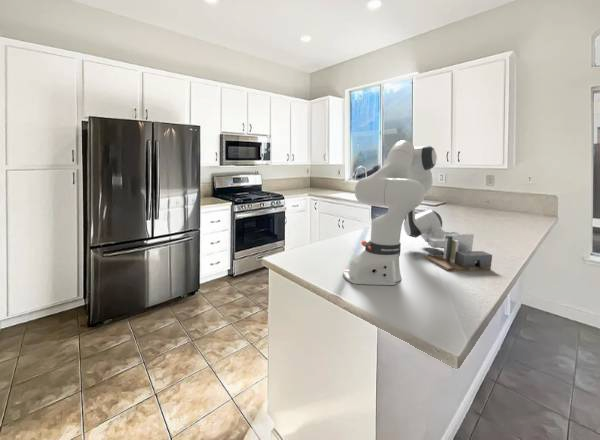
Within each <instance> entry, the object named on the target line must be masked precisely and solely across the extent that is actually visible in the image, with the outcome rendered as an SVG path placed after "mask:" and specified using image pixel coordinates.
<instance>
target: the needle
mask: <svg viewBox="0 0 600 440" xmlns="http://www.w3.org/2000/svg"><path fill="white" fill-rule="evenodd" d="M452 238H453V236H448V241H447V251H446V260H445V261H447V262H450V256H451V247H452Z"/></svg>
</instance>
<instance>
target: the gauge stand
mask: <svg viewBox="0 0 600 440" xmlns="http://www.w3.org/2000/svg"><path fill="white" fill-rule="evenodd" d="M447 241H448V238H445V247H444V248H443V254H424V255H423V258H424V259H425V260H427V261H429V262H431V263H432V264H435V265H436V266H438V267H439V268H441V269H443V270H445V271H447V272H456V271H457V272H458V271H459V272H460V271H463V272H464V271H487V270H488V271H489V270H491V267H492V261H493V254H491V253H488V252H486V251H484V250H476V251H475V250H472V251H466V252H458V245H459V241H457V240H454V239H452V247H451V256H450V262H447V261H445V260H446V251H447ZM476 260H477V261H478V263H477V264H475V261H476Z"/></svg>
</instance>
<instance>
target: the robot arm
mask: <svg viewBox="0 0 600 440" xmlns="http://www.w3.org/2000/svg"><path fill="white" fill-rule="evenodd" d="M437 159H438V158H437V152H436V150H435V148H434V147H432V146H431V145H423V146H415V145H414V144H413V143H412V142H410V141H409V140H400V141H397V142H396V143H394V145H393V146H392V147H391V149H389V152H388V153H387V155H386V156H385V161H384V162H383V165H382V166H381V167H380V168H379V169H378V170H377V171H375V172H374V173H372V174H370V175H369V176H365V177H362V178H360V179H359V180H358V181H357V183H356V185H355V187H354V196H355V199H356V200H357V201H358V202H359V203H361V204H365V205H368V206H375V207H376V206H377V207H384V208H385V207H387V213H385V214H381V215H379V216H377V217H375V218H374V219H373V220H372V222H371V224H370V225H371V226H370V240H368V241H367V240H362V241H361V245H362V246H363V247H365V249H364V250H363V251H362V252H361V253H359V254H357V255H356V256H355V257H353V258H352V259H351V260H350V263H349V268H348V269H344V270H343V276H344V279H346V280H347V281H348V282H350V283H352V284H354V285H372V286H373V285H374V286H377V285H378V286H394V285H396V284H397V283H398V282H400V281H401V280H402V275H401V270H400V256H401V245H402V243H401V233H402V228H404V231H405V234H406V235H407V236H409V237H412V238H418V237H421V238H422V239H423V240H424V242H426V243H427V244H428V246H430V247H431V248H434V249H436V248H437V249H444V247H445V238H444V235H451V234H461V232H460V233H459V232H453V231H448V230H444V229H443V219H442V217H441V214H439V213H438V212H437V211H436V210H432V209H428V210H426V211H424V212H422V213H420V214H418V215H416V208H418V207H419V206H420V205H421V204H422V203H423V201H424V199H425V197H426V196H425V195H426V194H428V192H429V191H431V188H432V186H433V176H432V175H433V174H432V170H431V169H433V168H434V167H435V166H436V164H437Z"/></svg>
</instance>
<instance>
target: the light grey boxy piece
mask: <svg viewBox="0 0 600 440" xmlns="http://www.w3.org/2000/svg"><path fill="white" fill-rule="evenodd" d="M448 236H453V238H452V239H454V240H457V241H459V245H458V252H466V251H473V243H474V236H475V234H473V233H460V234H451V235H444V238H448ZM477 263H478V261H477V260H476V261H475V264H477Z"/></svg>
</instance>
